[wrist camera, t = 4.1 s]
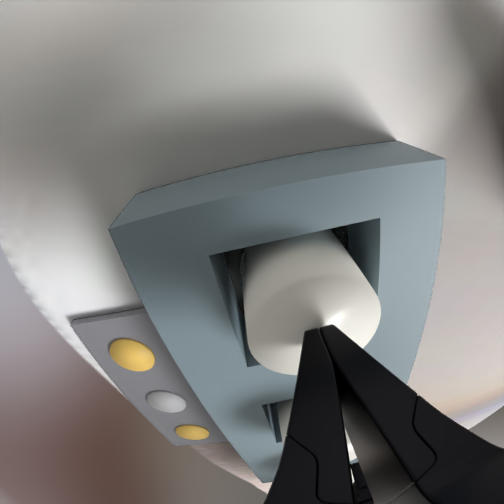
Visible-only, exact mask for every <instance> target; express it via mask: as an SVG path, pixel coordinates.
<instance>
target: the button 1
mask: <svg viewBox="0 0 504 504" xmlns="http://www.w3.org/2000/svg"><path fill="white" fill-rule="evenodd" d="M240 267H241V281H242V291H243V301H244V311H245V321H246V331H247V341H248V346H249V349H250V351H251V354H252V355H253V357H254V358H255V359H256V360H257V361H258V362H259V363H260V364H261V365H263V366H264V367H266V368H268V369H270V370H272V371H275V372H278V373H282V374H288V375H297V374H298V368H299V362H300V355H301V349H302V342H303V335H304V332H305V331H306V330H310V329H314V328H318V329H319V328H320V327H322V326H326V325H330V324H333V325H335V326H336V327H337V328H339V329H340V330H341V331H342V332H343V333H345V334H346V335H347V336H348V337H349V338H351V339H352V340H353V341H354V342H355V343H357V344H358V345H359V346H360V347H361V348H364V347H365V346H366V345H367V343H368V342H369V341H370V340H371V338H372V337H373V335H374V334H375V332H376V330H377V328H378V325H379V322H380V317H381V306H380V301H379V299H378V296H377V295H376V293H375V291H374V290H373V288H372V287H371V285H370V284H369V282H368V281H367V279H366V278H365V276H364V275H363V273H362V272H361V270H360V269H359V268H358V266H357V265H356V263H355V262H354V260H353V259H352V258H351V256H350V255H349V253H348V252H347V250H346V249H345V248H344V246H343V245H342V243H341V242H340V241H339V239H338V238H337V237H336V235H335V234H334V233H333V232H332V231H331V230H330V229H326V230H322V231H317V232H312V233H308V234H303V235H299V236H294V237H290V238H285V239H281V240H276V241H272V242H267V243H263V244H258V245H254V246H249V247H246V248H245V251H244V253H243V256H242V259H241V266H240Z"/></svg>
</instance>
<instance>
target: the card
mask: <svg viewBox="0 0 504 504" xmlns="http://www.w3.org/2000/svg"><path fill="white" fill-rule="evenodd" d="M71 327H72V328H73V330H74V331H75V332H76V334H77V335H78V337H79V338H80V340H81V341H82V342H83V344H84V345H85V347H86V348H87V349H88V351H89V352H90V353H91V355H92V356H93V357H94V359H95V360H96V361H97V362H98V364H99V365H100V366H101V368H102V369H103V370H104V371H105V373H106V374H107V375H108V376H109V377H110V379H111V380H112V381H113V382H114V383H115V385H116V386H117V387H118V388H119V389H120V390H121V392H122V393H123V394H124V395H125V396H126V397H127V398H128V399H129V401H130V402H131V403H132V404H133V405H134V406H135V407H136V408H137V409H138V410H139V411H140V412H141V413H142V414H143V415H144V417H146V419H147V420H149V422H150V423H151V424H152V425H153V426H154V427H155V428H156V429H157V430H158V431H160V433H161V434H163V435H164V436H165V437H166V438H167V439H168V440H169V441H170V442H171V443H172V444H173V445H174V446H179V445H180V446H182V445H200V444H213V443H224V442H229V441H228V439H227V438H226V437H225V435H224V434H223V433H222V431H221V430H220V428H219V427H218V426H217V424H216V423H215V422H214V420H213V419H212V417H211V416H210V414H209V413H208V412H207V410H206V409H205V407H204V406H203V404H202V403H201V401H200V400H199V398H198V397H197V395H196V394H195V392H194V391H193V389H192V388H191V386H190V384H189V383H188V381H187V380H186V378H185V377H184V375H183V373H182V372H181V370H180V369H179V367H178V365H177V364H176V362H175V360H174V359H173V357H172V355H171V354H170V352H169V350H168V348H167V347H166V345H165V343H164V342H163V340H162V338H161V336H160V334H159V333H158V331H157V329H156V327H155V325H154V324H153V322H152V320H151V318H150V316H149V314H148V312H147V311H146V309H145V308H141V309H135V310H129V311H124V312H118V313H112V314H106V315H101V316H95V317H89V318H82V319H76V320H73V321H72V323H71Z"/></svg>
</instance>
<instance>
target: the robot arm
mask: <svg viewBox="0 0 504 504" xmlns="http://www.w3.org/2000/svg"><path fill="white" fill-rule="evenodd" d="M345 429H346V431H347V434H348V436H349V439H350V441H351V444H352V446H353V449H354V452H355V454H356V457H357V459H358V462H356V463H353V464H350V459H349V452H348V445H347V439H346V432H345ZM286 435H287V436H286V437H285V441H284V446H283V451H282V454H281V458H280V462H279V466H278V469H277V472H276V474H275V477H274V480H273V482H272V485H271V488H270V490H269V492H268V495H267V497H266V499H265V502H264V504H504V448H501V447H498V446H496V445H493V444H491V443H490V442H488V441H486V440H484V439H482V438H481V437H479V436H478V435H476V434H474V433H473V432H471V431H469V430H468V429H466V428H464V427H463V426H461V425H459V424H458V423H456V422H455V421H453V420H452V419H450V418H449V417H447V416H446V415H444V414H443V413H441V412H440V411H439V410H437V409H436V408H435V407H433V406H432V405H431V404H429V403H428V402H427V401H426V400H425V399H423V398H422V397H421V396H420V395H418V396H417V393H416V392H415V391H414V390H412V389H411V388H410V387H409V386H407V385H406V384H405V383H404V382H403V381H401V380H400V379H399V378H398V377H397V376H395V375H394V374H393V373H392V372H390V371H389V370H388V369H387V368H386V367H384V366H383V365H382V364H381V363H380V362H378V361H377V360H376V359H375V358H374V357H372V356H371V355H370V354H369V353H367V352H366V351H365V350H364V349H363V348H361V347H360V346H359V345H358V344H357V343H355V342H354V341H353V340H352V339H351V338H349V337H348V336H347V335H346V334H345V333H343V332H342V331H341V330H340V329H339V328H337V327H336V326H335V325H333V324H330V325H326V326H322V327H320V328H319V329H318V328H314V329H310V330H306V331H305V332H304V335H303V342H302V349H301V355H300V362H299V368H298V374H297V380H296V385H295V391H294V397H293V402H292V407H291V413H290V418H289V423H288V428H287V433H286ZM351 471H352V474H353V478H354V482H353V481H352V474H351Z"/></svg>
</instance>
